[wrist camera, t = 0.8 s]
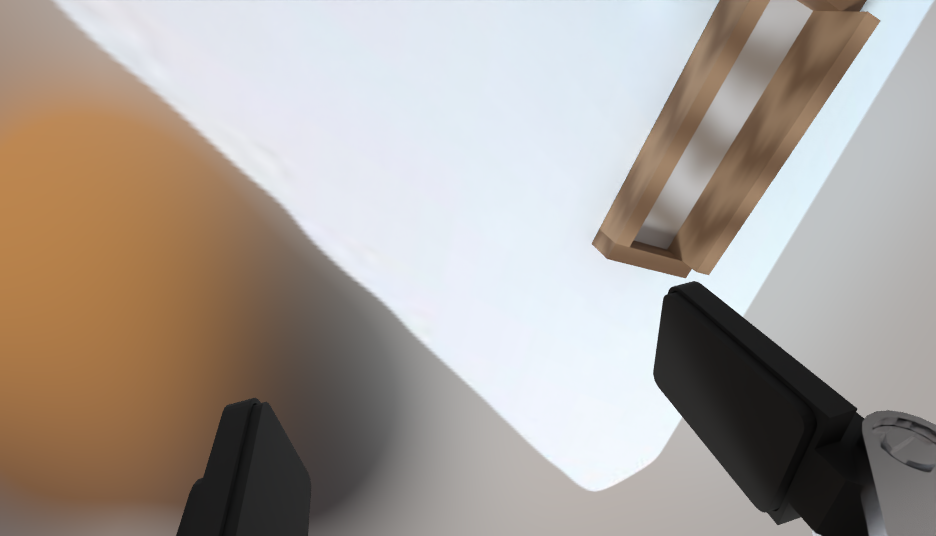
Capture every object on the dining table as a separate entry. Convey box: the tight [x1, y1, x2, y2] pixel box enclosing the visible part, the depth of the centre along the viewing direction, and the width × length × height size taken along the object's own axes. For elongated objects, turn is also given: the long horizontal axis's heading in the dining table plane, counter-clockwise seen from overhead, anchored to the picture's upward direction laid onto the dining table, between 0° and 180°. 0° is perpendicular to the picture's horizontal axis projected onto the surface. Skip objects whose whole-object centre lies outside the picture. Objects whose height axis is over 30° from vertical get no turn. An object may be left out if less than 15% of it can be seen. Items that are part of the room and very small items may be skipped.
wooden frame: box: [592, 0, 880, 278], centre depth 37 cm, size 25×10×5 cm, turn 159°
